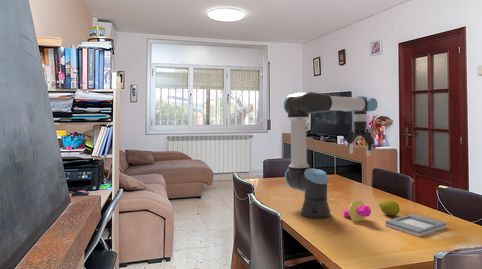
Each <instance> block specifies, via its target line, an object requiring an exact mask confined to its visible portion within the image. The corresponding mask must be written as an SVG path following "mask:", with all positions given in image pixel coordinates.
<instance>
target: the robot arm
mask: <svg viewBox="0 0 482 269" xmlns="http://www.w3.org/2000/svg"><path fill="white" fill-rule="evenodd" d="M283 108H284V111H285V112H286V114H287V118H288V119H289V120H290V163H289V165H288V168H287V170H286V172H284V181H285V183H286V185H287V186H289V187H290V188H292V189H294V190H298V191H301V192H304V194H303V195H304V199H303V203H302V205H301V209H300V213H301V214H300V215H302V216H304V217H305V218H311V219H327V218H330V217H331V209H330V206H329V202H328V174H327V172H326V171H324V170H322V169H320V168H319V169H318V168H317V169H316V168H310V165H309V164H308V162H307V154H308V153H307V120H308V119H309V118H310V115H312V114H317V113H328V112H329V111H341V112H345V113H346V112H353V127H354V128H350V130H349V134H348V136H347V138H346V143H347V144H348V150H349V155H350V154H354V141H355V140H356V139H357V138H358V137H362V138H363V139H364V141H365V143H366V150H365V151H366V154H365V156H367V157H370V156H371V151H372V146H373V145H375V144H376V142H375V141H374V139H373V136H372V133H371V132H372V131H371V129H370V128H367V124H368V123H367V118H368V117H367V116H368V112H374V111H376V110H377V108H378V100H377V99H376V98H375V97H367V96H364V95H363V96H361V95H360V96H354V97H353V96H349V97H348V96H333V95H330V94H328V93H320V92H315V91H314V92H313V91H306V92H294V93H290V94H289V95H287V96H286V98H285V99H284V102H283Z"/></svg>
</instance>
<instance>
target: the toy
mask: <svg viewBox="0 0 482 269" xmlns="http://www.w3.org/2000/svg"><path fill="white" fill-rule="evenodd" d="M371 213H372V210H371V208H370V206H369V205H366V204H365V203H364V202H363V201H362V200H360V201H359V200H358V201H352V202H351V203H350V205H349V206H348V207H347V208H345V209H344V210H343V211H342V214H343V216H344V217H345V218H351V220H352V222H360V221H362V222H363V221H364V220H365V218H366V217H369V216H371Z"/></svg>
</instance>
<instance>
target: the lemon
mask: <svg viewBox="0 0 482 269" xmlns="http://www.w3.org/2000/svg"><path fill="white" fill-rule="evenodd" d="M378 205H379V208H380V210H381V212H382V213H384V214H385V215H387V216H389V217H390V216H391V217H394V216H395V217H396V216H398V215H399V213H400V209H401V208H400V205H399V204H398V202H396V201H394V200H391V199H385V200H383V201H380V202H379V204H378Z"/></svg>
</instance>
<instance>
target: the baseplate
mask: <svg viewBox="0 0 482 269" xmlns="http://www.w3.org/2000/svg"><path fill="white" fill-rule="evenodd" d="M384 224H385V225H384V226H385V227H388V228H391V229H394V230H397V231H400V232H404V233H407V234H410V235H412V236H416V237H421V236H422V237H423V236H424V235H429V234H430V233H433V232H436V231H440V230H444V229H445V228H447V222H444V221H442V220H438V219H434V218H430V217H427V216H423V215H419V214H415V213H410V214H406V215H404V216H400V217H396V218H392V219H388V220H385V222H384Z"/></svg>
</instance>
